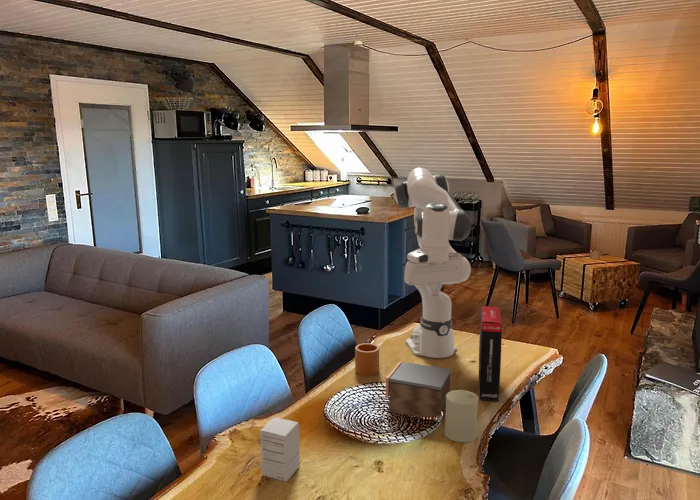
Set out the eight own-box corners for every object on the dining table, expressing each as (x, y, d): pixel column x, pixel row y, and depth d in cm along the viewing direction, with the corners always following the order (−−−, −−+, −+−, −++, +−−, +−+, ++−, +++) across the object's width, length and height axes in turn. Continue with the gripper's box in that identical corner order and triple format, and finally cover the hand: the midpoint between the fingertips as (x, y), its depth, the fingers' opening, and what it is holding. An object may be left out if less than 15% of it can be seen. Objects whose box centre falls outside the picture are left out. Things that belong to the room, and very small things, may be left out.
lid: (385, 396, 169) (386, 377, 168) (399, 379, 182) (399, 361, 180) (440, 407, 162) (441, 387, 161) (450, 387, 175) (451, 369, 174)
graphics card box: (499, 403, 176) (504, 322, 170) (477, 401, 177) (481, 320, 172) (496, 380, 192) (500, 306, 187) (476, 379, 193) (480, 305, 188)
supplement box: (275, 460, 144) (274, 416, 141) (300, 466, 141) (299, 421, 139) (260, 475, 137) (259, 429, 135) (286, 482, 134) (285, 435, 132)
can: (482, 440, 154) (484, 401, 151) (451, 444, 152) (453, 404, 149) (468, 424, 162) (470, 386, 160) (439, 427, 161) (441, 389, 158)
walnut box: (389, 412, 169) (389, 382, 167) (402, 393, 182) (403, 365, 180) (439, 422, 163) (440, 391, 161) (449, 402, 176) (451, 373, 174)
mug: (388, 366, 204) (388, 344, 202) (370, 378, 195) (371, 354, 193) (368, 360, 209) (368, 338, 207) (350, 371, 200) (350, 348, 198)
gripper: (458, 250, 182) (456, 290, 185) (402, 254, 175) (401, 295, 178) (468, 254, 176) (466, 295, 179) (411, 258, 170) (410, 301, 172)
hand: (433, 295), depth 178 cm, fingers closed
